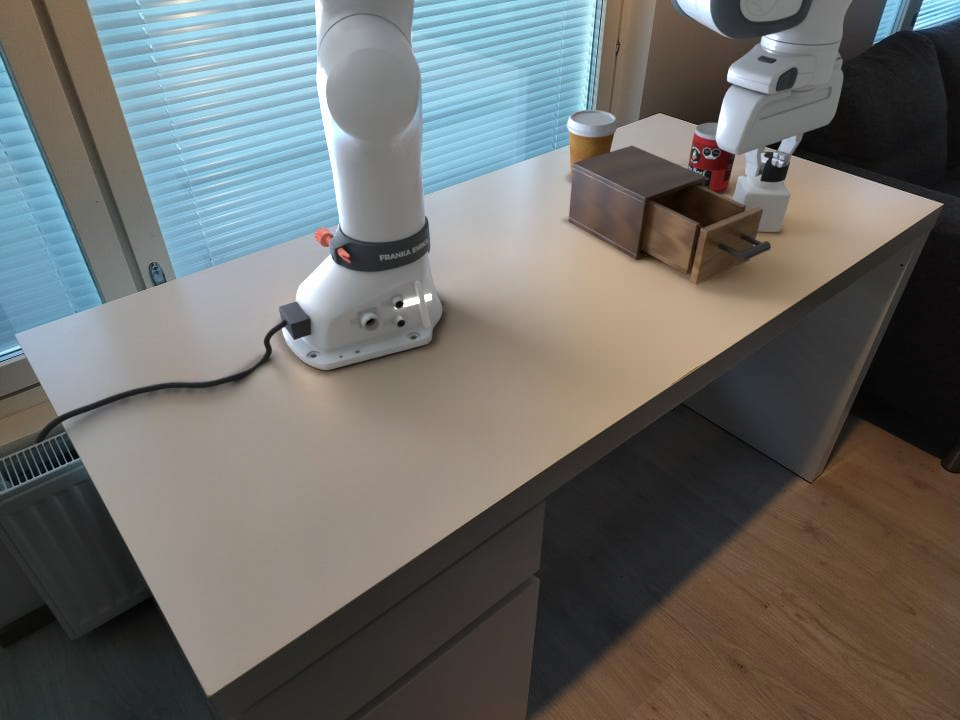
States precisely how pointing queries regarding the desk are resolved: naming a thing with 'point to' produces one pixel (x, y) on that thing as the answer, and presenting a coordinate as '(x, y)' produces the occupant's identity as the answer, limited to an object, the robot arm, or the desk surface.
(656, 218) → the drawer
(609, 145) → the disposable coffee cup
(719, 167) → the canned food
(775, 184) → the medicine bottle
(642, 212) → the cabinet
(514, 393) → the desk surface
